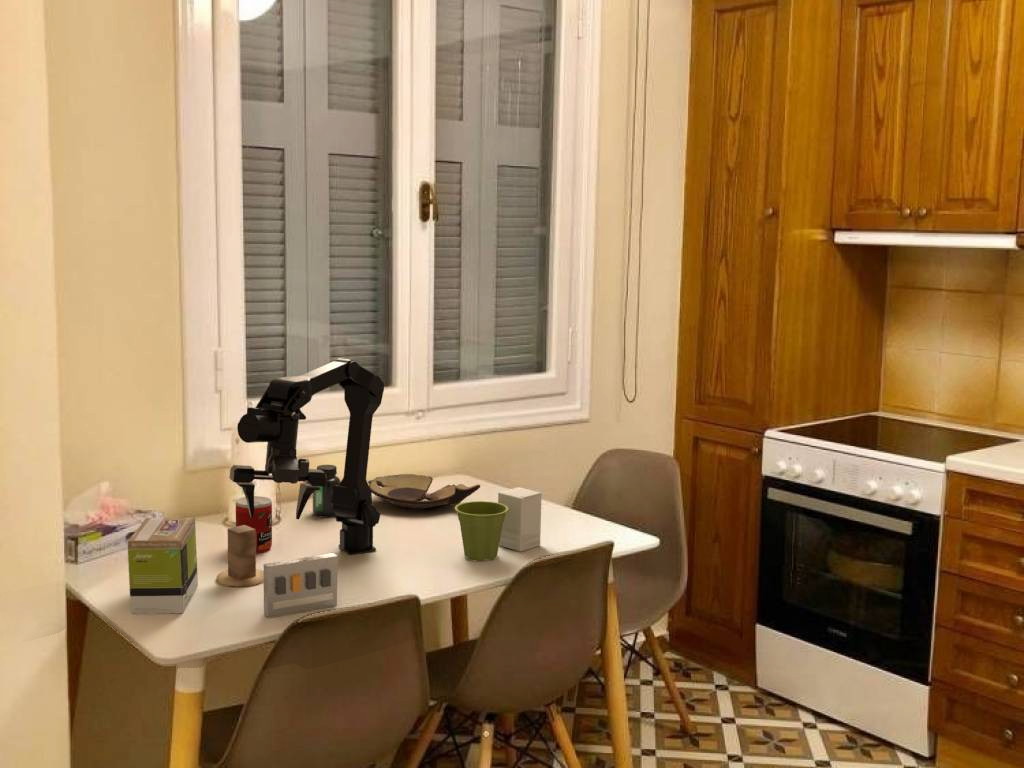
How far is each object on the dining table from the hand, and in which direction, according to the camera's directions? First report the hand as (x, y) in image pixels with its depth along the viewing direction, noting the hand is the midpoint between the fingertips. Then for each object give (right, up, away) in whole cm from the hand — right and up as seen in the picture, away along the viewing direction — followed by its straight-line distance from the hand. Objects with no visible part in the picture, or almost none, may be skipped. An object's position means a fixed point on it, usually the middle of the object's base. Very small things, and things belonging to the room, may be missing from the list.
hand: (274, 518), depth 227 cm
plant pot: (+41, -11, +23) cm, 48 cm away
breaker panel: (+8, -16, -12) cm, 22 cm away
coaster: (-8, -13, +4) cm, 15 cm away
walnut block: (-8, -12, +4) cm, 15 cm away
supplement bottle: (+2, -5, +52) cm, 52 cm away
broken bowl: (+24, -5, +62) cm, 66 cm away
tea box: (-19, -15, -9) cm, 26 cm away
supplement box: (+49, -10, +32) cm, 60 cm away
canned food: (-10, -10, +24) cm, 27 cm away
